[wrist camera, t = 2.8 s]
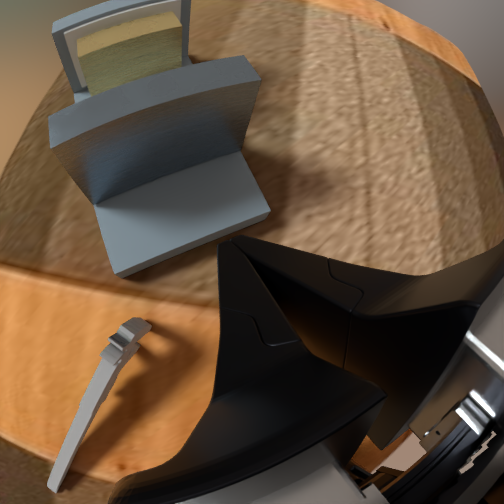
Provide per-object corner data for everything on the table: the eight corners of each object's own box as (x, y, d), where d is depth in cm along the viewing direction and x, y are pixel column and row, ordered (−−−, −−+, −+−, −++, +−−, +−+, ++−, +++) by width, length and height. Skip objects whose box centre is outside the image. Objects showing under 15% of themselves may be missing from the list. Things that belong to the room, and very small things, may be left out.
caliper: (142, 317, 20) (120, 315, 14) (154, 325, 20) (136, 327, 14) (49, 484, 14) (21, 514, 8) (58, 491, 14) (32, 522, 8)
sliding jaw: (241, 150, 22) (261, 79, 14) (93, 205, 19) (50, 148, 11) (226, 123, 22) (241, 51, 15) (85, 173, 19) (48, 111, 12)
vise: (264, 219, 23) (309, 152, 14) (121, 278, 20) (66, 243, 10) (178, 53, 26) (181, -19, 17) (77, 87, 23) (53, 19, 13)
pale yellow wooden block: (181, 85, 23) (182, 25, 16) (97, 113, 21) (77, 57, 14) (172, 67, 23) (172, 11, 16) (93, 93, 21) (76, 39, 14)
